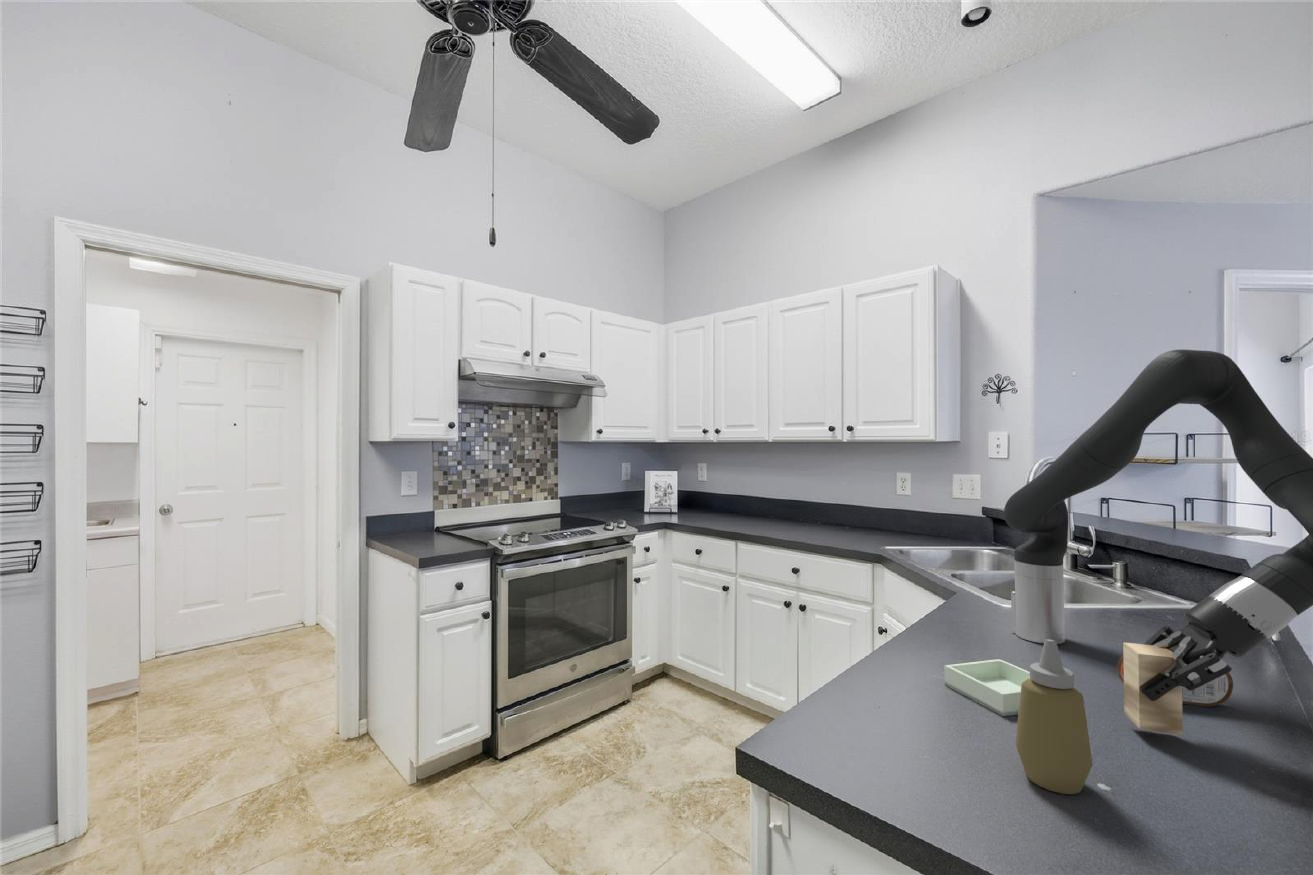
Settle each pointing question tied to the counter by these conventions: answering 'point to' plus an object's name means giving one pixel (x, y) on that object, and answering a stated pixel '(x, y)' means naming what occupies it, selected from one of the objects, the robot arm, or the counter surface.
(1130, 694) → the beech block
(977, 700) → the bin
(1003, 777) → the counter surface
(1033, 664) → the squeeze bottle
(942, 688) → the counter surface
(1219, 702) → the tin
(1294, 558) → the robot arm
